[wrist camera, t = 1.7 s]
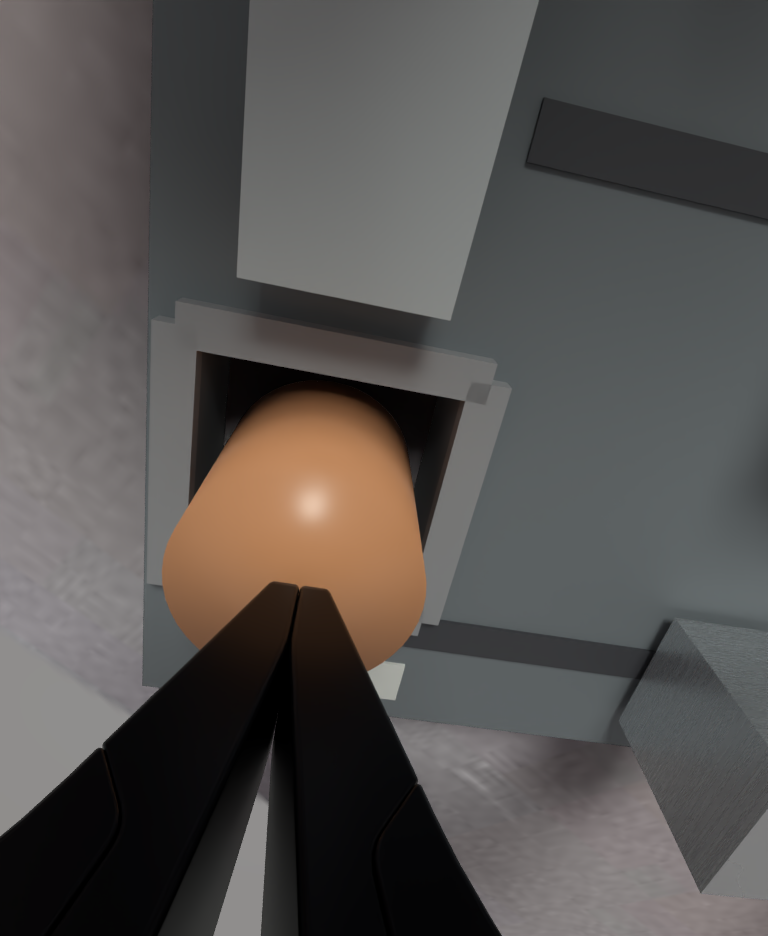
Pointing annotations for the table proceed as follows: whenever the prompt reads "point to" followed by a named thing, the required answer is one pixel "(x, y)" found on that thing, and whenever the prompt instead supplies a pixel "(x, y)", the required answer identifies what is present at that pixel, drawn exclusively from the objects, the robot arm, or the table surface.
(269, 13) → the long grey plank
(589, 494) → the panel
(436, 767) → the table surface
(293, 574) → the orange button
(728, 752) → the grey slider
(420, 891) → the robot arm
